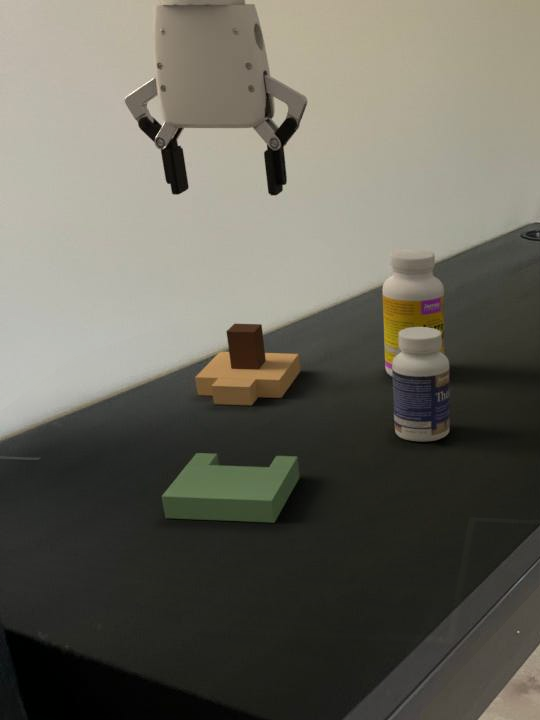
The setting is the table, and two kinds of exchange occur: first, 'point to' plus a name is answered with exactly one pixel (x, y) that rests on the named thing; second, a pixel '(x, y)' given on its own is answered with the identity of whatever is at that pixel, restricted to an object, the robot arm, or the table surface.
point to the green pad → (231, 490)
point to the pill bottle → (421, 386)
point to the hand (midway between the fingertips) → (228, 192)
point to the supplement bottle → (411, 299)
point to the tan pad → (247, 369)
